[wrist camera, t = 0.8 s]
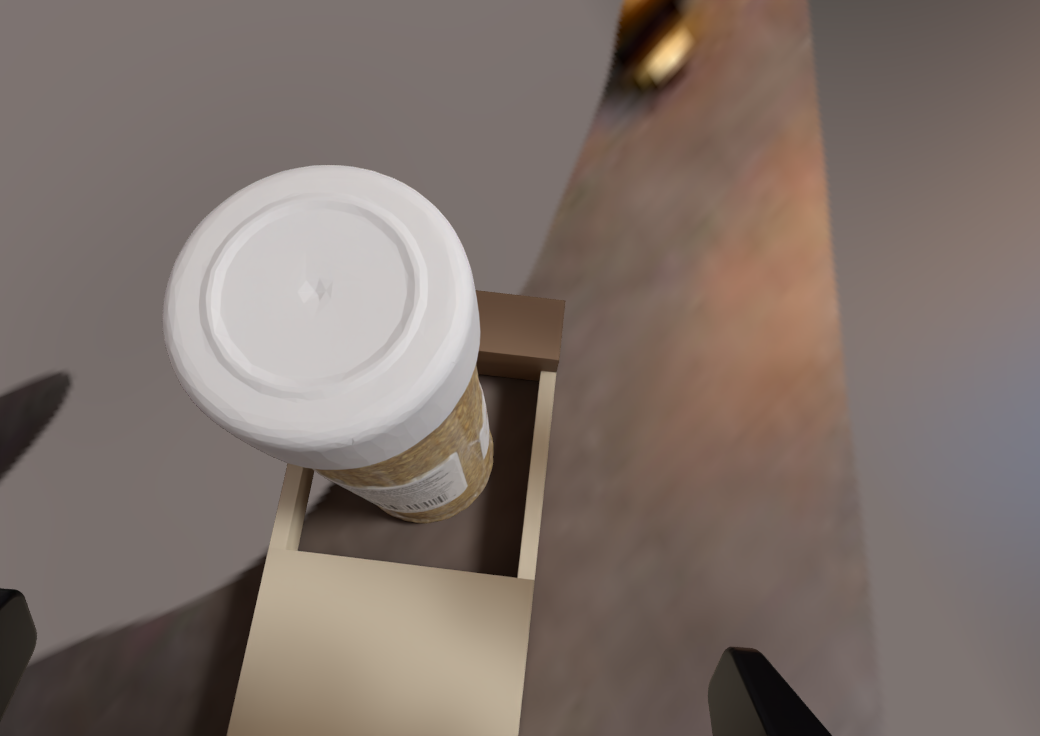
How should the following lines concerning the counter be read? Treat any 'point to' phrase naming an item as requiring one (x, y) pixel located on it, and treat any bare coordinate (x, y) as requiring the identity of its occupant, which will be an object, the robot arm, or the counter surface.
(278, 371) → the sprinkles bottle
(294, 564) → the wooden stand
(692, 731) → the counter surface
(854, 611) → the counter surface
